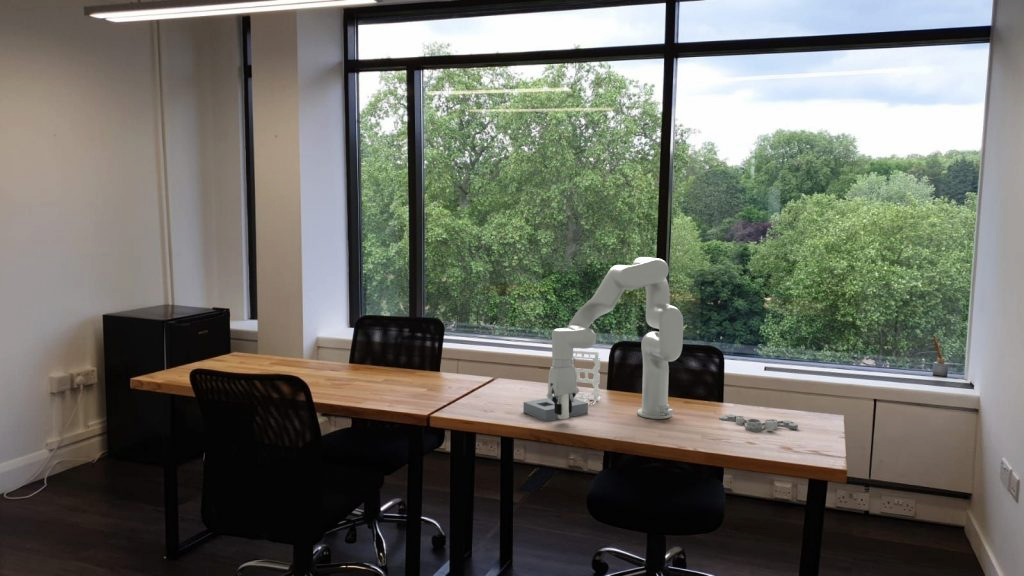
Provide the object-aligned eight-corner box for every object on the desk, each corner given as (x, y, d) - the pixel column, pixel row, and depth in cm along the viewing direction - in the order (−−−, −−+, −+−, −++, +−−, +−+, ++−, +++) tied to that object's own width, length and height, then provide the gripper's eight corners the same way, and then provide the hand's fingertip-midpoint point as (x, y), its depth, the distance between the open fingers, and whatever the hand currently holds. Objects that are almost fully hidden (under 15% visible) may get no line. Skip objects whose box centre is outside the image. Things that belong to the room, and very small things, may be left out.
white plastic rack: (559, 402, 286) (560, 353, 284) (568, 394, 299) (569, 347, 297) (595, 406, 282) (596, 356, 280) (602, 398, 295) (603, 350, 293)
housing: (587, 413, 270) (588, 402, 270) (545, 421, 259) (545, 410, 259) (564, 405, 282) (564, 395, 281) (523, 412, 270) (523, 401, 270)
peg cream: (571, 417, 256) (571, 393, 255) (562, 419, 254) (562, 395, 253) (564, 415, 259) (563, 391, 258) (555, 417, 257) (555, 392, 256)
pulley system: (794, 440, 243) (799, 426, 256) (794, 426, 243) (799, 414, 256) (712, 431, 256) (721, 418, 269) (712, 418, 256) (721, 406, 269)
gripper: (574, 358, 262) (574, 406, 264) (537, 364, 253) (538, 414, 255) (587, 361, 256) (587, 411, 258) (550, 367, 247) (551, 419, 249)
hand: (563, 412), depth 256 cm, fingers closed on peg cream, 4 cm apart
